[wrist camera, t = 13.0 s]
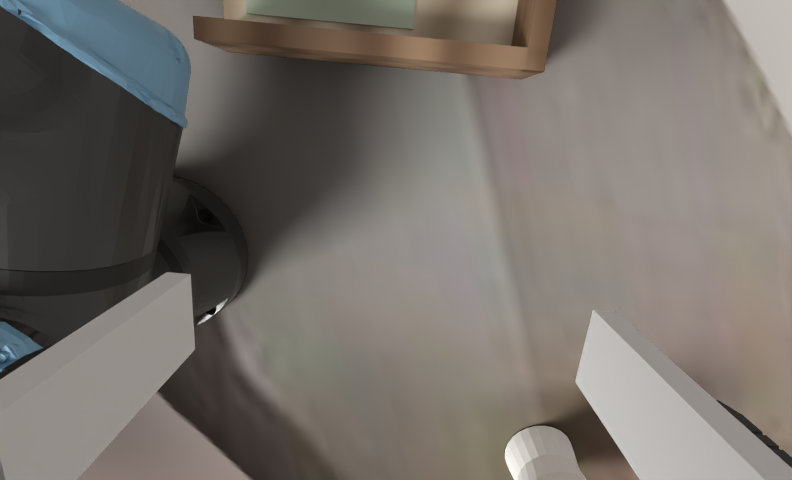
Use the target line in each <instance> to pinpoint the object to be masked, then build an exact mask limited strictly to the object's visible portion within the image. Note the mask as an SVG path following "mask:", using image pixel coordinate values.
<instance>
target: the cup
mask: <svg viewBox="0 0 792 480" xmlns="http://www.w3.org/2000/svg"><path fill="white" fill-rule="evenodd" d="M505 460H506V463H507V466H508V468H509V470H510V472H511V474H512V476H513V478H514V480H587V479H586V478H585V477H584V475H583V474H582V472H581V471H580V469H579V468H578V464H577V461H576V457H575V454H574V451H573V448H572V445H571V442H570V441H569V439H568V437H567V436H566V435H565V434H564V433H563V432H561V431H560V430H558V429H556V428H553V427H549V426H533V427H529V428H526V429H524V430H522V431H520V432H518V433H517V434H516V435H514V436H513V437H512V438H511V440H510V441H509V442H508V444H507V447H506V449H505Z"/></svg>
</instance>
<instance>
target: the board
mask: <svg viewBox="0 0 792 480" xmlns="http://www.w3.org/2000/svg"><path fill="white" fill-rule="evenodd" d="M223 3H224V19H232V20H242V21H253V22H263V23H274V24H285V25H295V26H306V27H316V28H327V29H337V30H348V31H358V32H369V33H380V34H390V35H401V36H411V37H422V38H432V39H443V40H453V41H464V42H475V43H485V44H496V45H506V46H511V44H512V37H513V31H514V25H515V18H516V12H517V5H518V0H415V9H414V20H413V30H410V29H399V28H388V27H378V26H367V25H357V24H346V23H336V22H325V21H315V20H304V19H294V18H283V17H273V16H262V15H251V14H247V13H246V0H223Z"/></svg>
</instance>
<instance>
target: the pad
mask: <svg viewBox="0 0 792 480" xmlns="http://www.w3.org/2000/svg"><path fill="white" fill-rule="evenodd" d="M414 9H415V0H246V13H247V14H251V15H262V16H273V17H283V18H294V19H304V20H315V21H325V22H336V23H346V24H357V25H367V26H378V27H388V28H399V29H410V30H413V20H414Z"/></svg>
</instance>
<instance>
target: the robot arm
mask: <svg viewBox="0 0 792 480" xmlns="http://www.w3.org/2000/svg"><path fill="white" fill-rule="evenodd" d="M190 74H191V65H190V59H189V56H188V54H187V51H186V49H185V47H184V46H183V45H182V43H181V42H180V40H179V39H178V38H177V37H176V36H175V35H174V34H173V33H171V32H170V31H169V30H167V29H166V28H165V27H163V26H161V25H160V24H158V23H157V22H155V21H153V20H151V19H150V18H148V17H146V16H145V15H143V14H141V13H139V12H138V11H136V10H134V9H132V8H130V7H129V6H127V5H125V4H123V3H121V2H120V1H118V0H0V480H77V479H78V478H79V477H80V476H81V475H82V473H83V472H84V471H85V470H86V469H87V468H88V467H89V466H90V465H91V464H92V462H93V461H94V460H95V459H96V458H97V457H98V456H99V455H100V454H101V453H102V451H103V450H104V449H105V448H106V447H107V446H108V445H109V444H110V442H111V441H112V440H113V439H114V438H115V437H116V436H117V435H118V434H119V433H120V431H121V430H122V429H123V428H124V427H125V426H126V425H127V424H128V423H129V422H130V420H131V419H132V418H133V417H134V416H135V415H136V414H137V413H138V412H139V411H140V409H141V408H142V407H143V406H144V405H145V404H146V403H147V402H148V401H149V400H150V398H151V397H152V396H153V395H154V394H155V393H156V392H157V391H158V390H159V388H160V387H161V386H162V385H163V384H164V383H165V382H166V381H167V380H168V379H169V377H170V376H171V375H172V374H173V373H174V372H175V371H176V370H177V369H178V367H179V366H180V365H181V364H182V363H183V362H184V361H185V360H186V359H187V358H188V356H189V355H190V354H191V353H192V352H193V351H194V350H195V340H194V326H196V325H198V324H201V323H203V322H205V321H207V320H209V319H211V318H212V317H214V316H215V315H217V314H218V313H219V312H220V311H222V310H223V309H224V308H225V307H226V306H227V304H228V303H229V302H230V301H231V300H232V299H233V298H234V297H235V296H236V294H237V293H238V291H239V290H240V288H241V286H242V284H243V282H244V279H245V276H246V271H247V264H248V254H247V246H246V242H245V238H244V235H243V232H242V230H241V228H240V226H239V224H238V222H237V220H236V219H235V217H234V215H233V214H232V213H231V211H230V210H229V209H228V208H227V207H226V205H225V204H224V203H223V202H222V201H221V200H219V199H218V198H217V197H216V196H215V195H213V194H212V193H211V192H209V191H208V190H206V189H205V188H203V187H201V186H199V185H197V184H195V183H193V182H190V181H187V180H184V179H181V178H176V177H172V176H173V172H174V167H175V162H176V158H177V153H178V149H179V144H180V140H181V135H182V130H183V127H184V128H186V126H187V119H186V118H185V110H186V102H187V94H188V87H189V81H190ZM575 382H576V384H577V385H578V387H579V388H580V390H581V391H582V393H583V394H584V396H585V397H586V399H587V400H588V402H589V403H590V405H591V407H592V408H593V410H594V411H595V413H596V414H597V416H598V417H599V419H600V420H601V422H602V423H603V425H604V426H605V428H606V429H607V431H608V432H609V434H610V435H611V437H612V438H613V440H614V441H615V443H616V444H617V446H618V447H619V449H620V450H621V452H622V453H623V455H624V456H625V458H626V459H627V461H628V462H629V464H630V466H631V467H632V469H633V470H634V472H635V473H636V475H637V476H638V478H639V479H640V480H792V457H790V456H789V455H788V454H787V453H786V452H785V451H784V450H780V449H779V446H778V445H777V444H775V443H774V442H773V441H772V440H771V439H770V438H769V437H767V436H766V435H763V434H762V431H760V430H759V429H758V428H757V427H756V426H755V425H754V424H752V423H751V422H750V421H749V420H748V419H747V418H745V417H744V416H743V415H742V414H740V413H738V412H737V411H735V410H733V409H732V408H730V407H728V406H727V405H725V404H723V403H722V402H720V401H719V400H715V399H714V398H713V397H711V396H710V395H709V394H708V393H707V392H706V391H705V390H704V389H703V388H701V387H700V386H699V385H698V384H697V383H696V382H695V381H694V380H692V379H691V378H690V377H689V376H688V375H687V374H686V373H685V372H683V371H682V370H681V369H680V368H679V367H678V366H677V365H676V364H675V363H673V362H672V361H671V360H670V359H669V358H668V357H667V356H666V355H664V354H663V353H662V352H661V351H660V350H659V349H658V348H657V347H655V346H654V345H653V344H652V343H651V342H650V341H649V340H648V339H647V338H645V337H644V336H643V335H642V334H641V333H640V332H639V331H638V330H636V329H635V328H634V327H633V326H632V325H631V324H630V323H629V322H628V321H626V320H625V319H624V318H623V317H622V316H621V315H620V314H619V313H617V312H615V311H604V310H593V312H592V316H591V320H590V324H589V328H588V332H587V336H586V340H585V344H584V348H583V353H582V357H581V361H580V365H579V369H578V373H577V377H576V381H575Z"/></svg>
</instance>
